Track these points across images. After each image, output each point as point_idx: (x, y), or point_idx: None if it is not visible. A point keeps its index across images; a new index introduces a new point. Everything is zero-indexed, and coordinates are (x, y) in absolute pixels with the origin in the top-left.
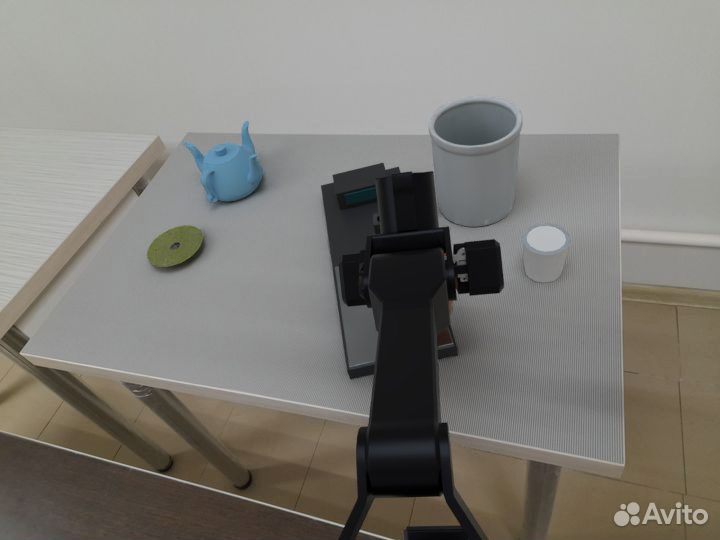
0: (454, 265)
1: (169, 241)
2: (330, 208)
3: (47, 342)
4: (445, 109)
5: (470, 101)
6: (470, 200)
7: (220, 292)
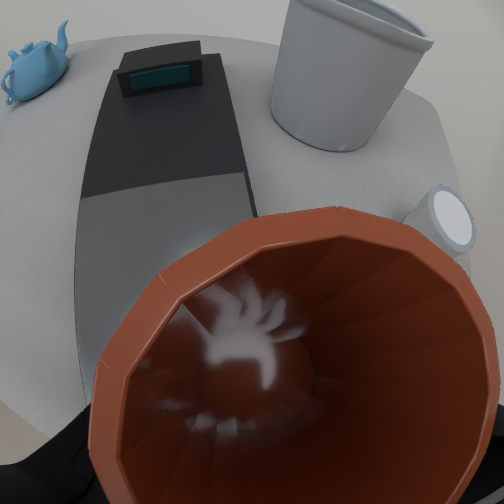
0: (474, 477)
1: None
2: (111, 96)
3: None
4: None
5: None
6: (337, 110)
7: None
